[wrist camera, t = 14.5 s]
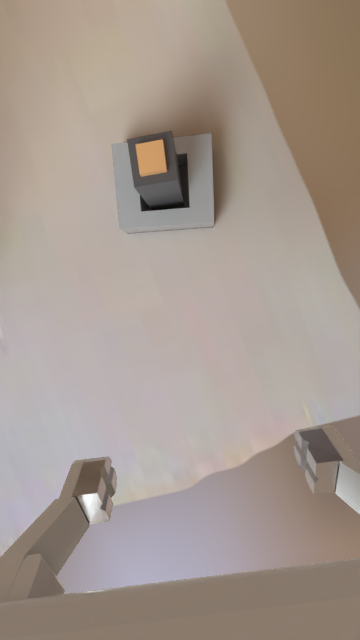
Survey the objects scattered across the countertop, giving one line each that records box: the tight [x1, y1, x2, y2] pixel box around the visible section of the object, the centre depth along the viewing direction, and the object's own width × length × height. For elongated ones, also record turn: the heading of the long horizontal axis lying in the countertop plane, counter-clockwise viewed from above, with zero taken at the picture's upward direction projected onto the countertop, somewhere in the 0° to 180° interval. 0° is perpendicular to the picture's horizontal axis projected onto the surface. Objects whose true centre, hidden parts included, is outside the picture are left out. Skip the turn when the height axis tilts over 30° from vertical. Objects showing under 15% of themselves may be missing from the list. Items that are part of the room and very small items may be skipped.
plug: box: [127, 131, 185, 211], centre depth 27 cm, size 4×4×10 cm
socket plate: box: [112, 133, 214, 233], centre depth 31 cm, size 11×9×4 cm
